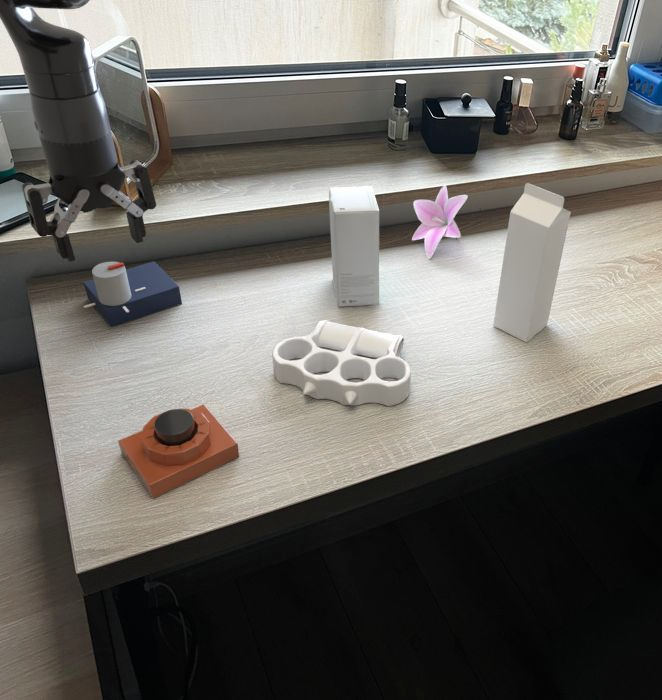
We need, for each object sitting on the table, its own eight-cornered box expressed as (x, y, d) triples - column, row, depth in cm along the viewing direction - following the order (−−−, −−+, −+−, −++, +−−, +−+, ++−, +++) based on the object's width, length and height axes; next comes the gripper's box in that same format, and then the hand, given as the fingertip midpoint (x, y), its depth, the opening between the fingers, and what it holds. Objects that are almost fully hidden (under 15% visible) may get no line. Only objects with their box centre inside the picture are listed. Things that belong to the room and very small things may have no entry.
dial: (106, 309, 96) (98, 279, 93) (94, 295, 98) (86, 265, 95) (136, 299, 98) (129, 269, 95) (124, 286, 100) (117, 256, 97)
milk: (514, 309, 110) (537, 175, 97) (547, 325, 108) (576, 189, 95) (492, 326, 106) (513, 188, 93) (526, 343, 104) (553, 204, 90)
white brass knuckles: (425, 353, 100) (396, 425, 88) (301, 328, 102) (257, 394, 90) (427, 334, 98) (397, 404, 86) (300, 308, 99) (255, 374, 88)
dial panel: (101, 341, 95) (96, 321, 93) (72, 304, 101) (66, 285, 99) (189, 310, 102) (185, 292, 100) (157, 278, 108) (154, 260, 106)
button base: (153, 499, 76) (146, 473, 74) (121, 454, 81) (114, 429, 78) (239, 456, 82) (236, 431, 80) (206, 417, 86) (201, 392, 84)
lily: (413, 226, 130) (395, 190, 122) (476, 206, 128) (462, 169, 120) (422, 278, 123) (403, 244, 115) (488, 258, 122) (473, 222, 114)
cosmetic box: (379, 306, 108) (382, 212, 98) (334, 308, 106) (332, 213, 96) (372, 275, 114) (374, 184, 104) (329, 277, 112) (327, 185, 103)
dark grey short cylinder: (166, 451, 77) (164, 440, 76) (150, 430, 79) (147, 419, 78) (202, 435, 79) (200, 424, 78) (185, 415, 81) (183, 403, 80)
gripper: (17, 152, 77) (56, 279, 87) (149, 127, 85) (171, 246, 95) (-5, 127, 81) (35, 252, 91) (123, 106, 89) (146, 222, 99)
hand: (104, 249), depth 93 cm, fingers open, 8 cm apart
